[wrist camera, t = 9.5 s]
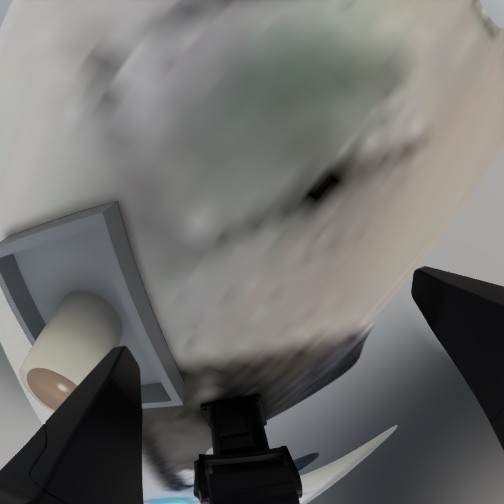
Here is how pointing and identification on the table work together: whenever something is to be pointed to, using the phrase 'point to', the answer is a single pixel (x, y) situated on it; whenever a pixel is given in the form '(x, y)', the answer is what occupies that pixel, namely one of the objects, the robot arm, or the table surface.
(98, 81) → the table surface
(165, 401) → the desk tray
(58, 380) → the ceramic cup
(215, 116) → the table surface
